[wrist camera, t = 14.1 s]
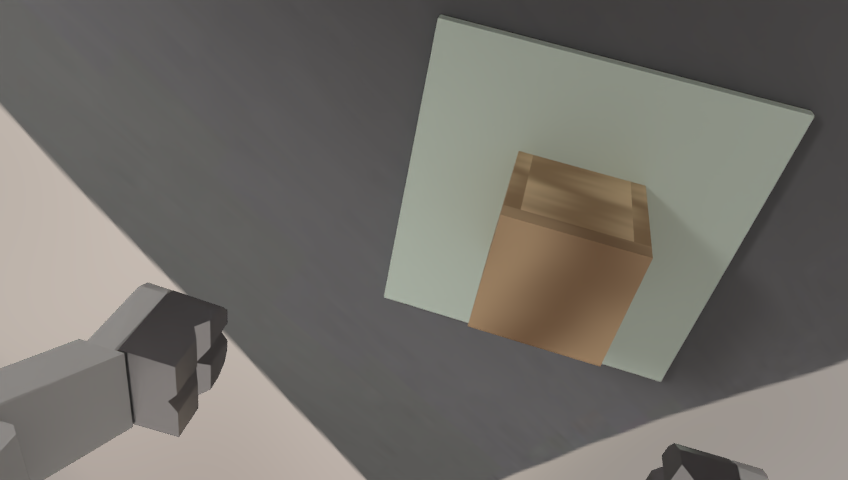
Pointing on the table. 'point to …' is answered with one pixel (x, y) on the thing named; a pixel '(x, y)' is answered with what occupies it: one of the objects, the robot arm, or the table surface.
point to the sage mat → (589, 149)
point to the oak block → (564, 259)
